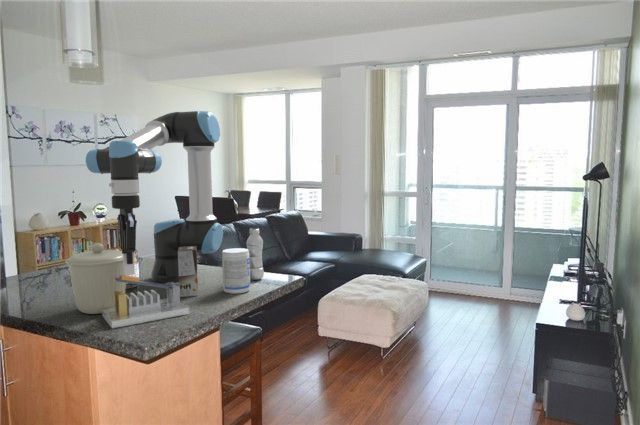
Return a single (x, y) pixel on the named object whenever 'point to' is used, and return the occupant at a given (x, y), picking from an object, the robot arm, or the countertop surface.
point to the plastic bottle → (255, 254)
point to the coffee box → (188, 271)
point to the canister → (96, 278)
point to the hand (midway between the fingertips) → (129, 274)
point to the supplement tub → (236, 270)
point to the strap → (136, 281)
